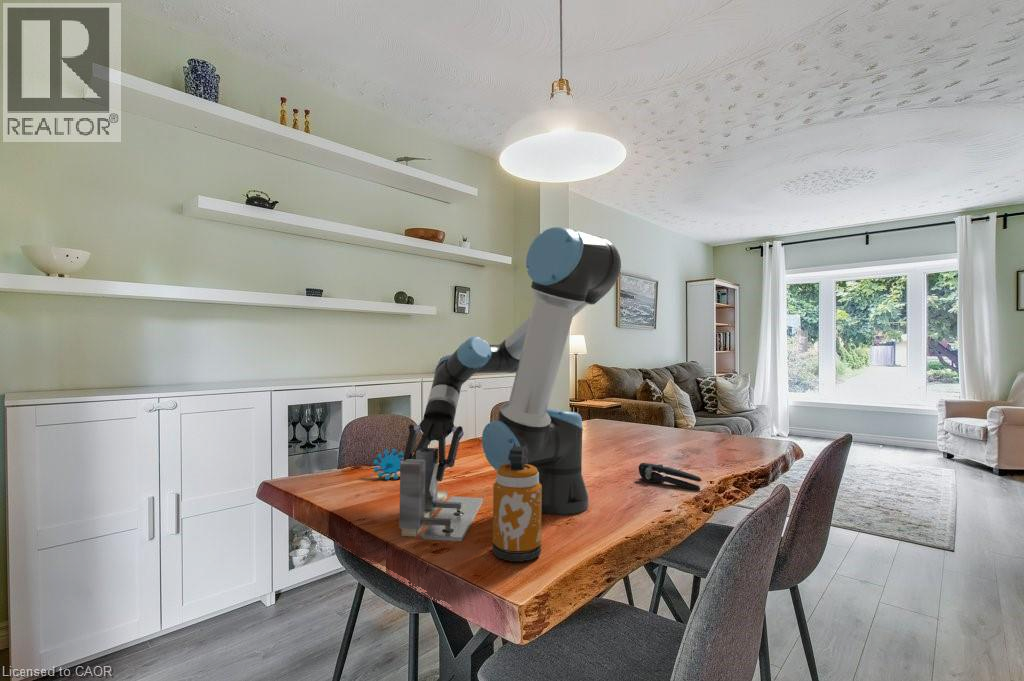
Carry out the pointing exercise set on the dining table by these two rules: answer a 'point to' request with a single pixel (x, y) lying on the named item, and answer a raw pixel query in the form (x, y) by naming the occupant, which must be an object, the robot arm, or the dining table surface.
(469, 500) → the bolt plate
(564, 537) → the dining table surface
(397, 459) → the blue spiky virus model
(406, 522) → the grey metal fixture
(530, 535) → the canister
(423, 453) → the slide leg
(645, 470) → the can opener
